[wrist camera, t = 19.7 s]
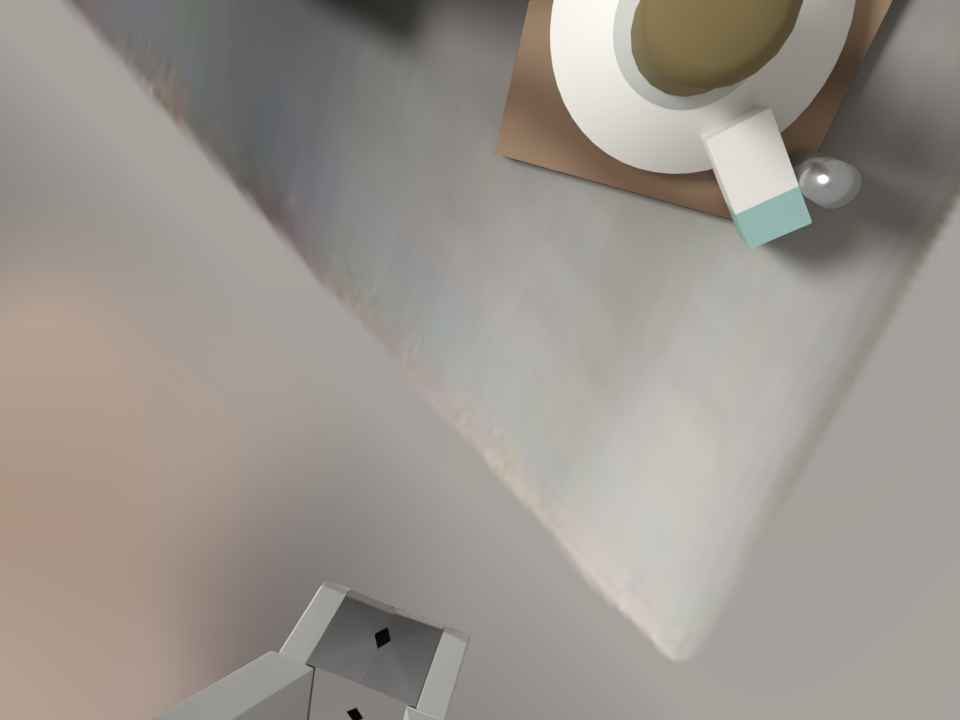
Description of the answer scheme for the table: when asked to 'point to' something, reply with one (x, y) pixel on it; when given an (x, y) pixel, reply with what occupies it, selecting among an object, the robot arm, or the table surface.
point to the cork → (708, 41)
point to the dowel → (825, 178)
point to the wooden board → (565, 148)
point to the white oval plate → (699, 108)
